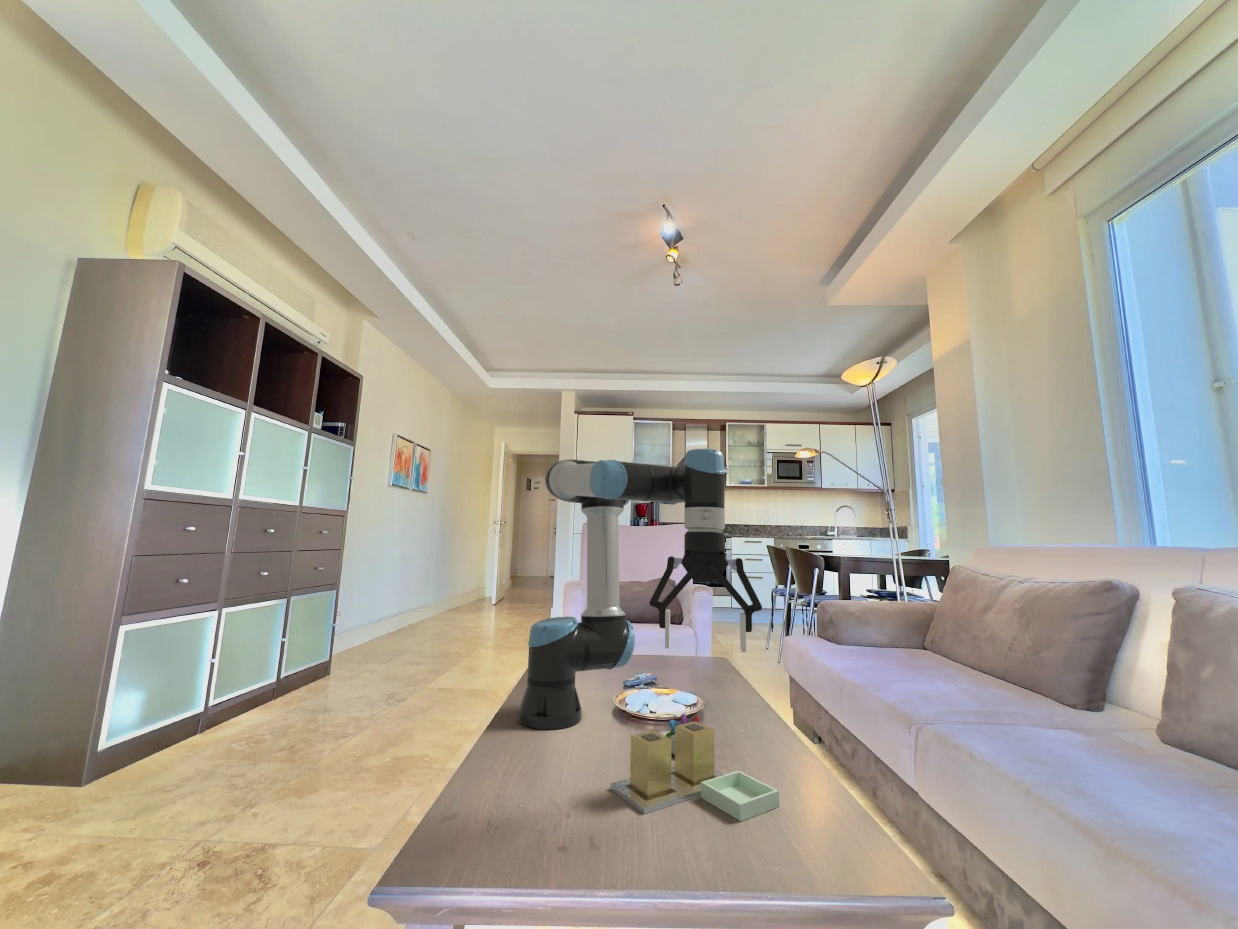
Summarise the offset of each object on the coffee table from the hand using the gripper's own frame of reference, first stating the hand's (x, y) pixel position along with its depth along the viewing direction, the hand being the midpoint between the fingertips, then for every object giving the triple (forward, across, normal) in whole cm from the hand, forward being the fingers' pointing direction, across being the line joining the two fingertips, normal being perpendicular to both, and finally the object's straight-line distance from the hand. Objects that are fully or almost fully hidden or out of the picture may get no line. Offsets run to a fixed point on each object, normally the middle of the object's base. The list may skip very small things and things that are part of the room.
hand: (704, 649), depth 94 cm
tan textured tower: (+24, -2, +3) cm, 24 cm away
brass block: (+24, -9, -4) cm, 26 cm away
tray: (+24, +6, -4) cm, 24 cm away
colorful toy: (+24, -3, +17) cm, 29 cm away
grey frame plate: (+24, -6, 0) cm, 24 cm away
